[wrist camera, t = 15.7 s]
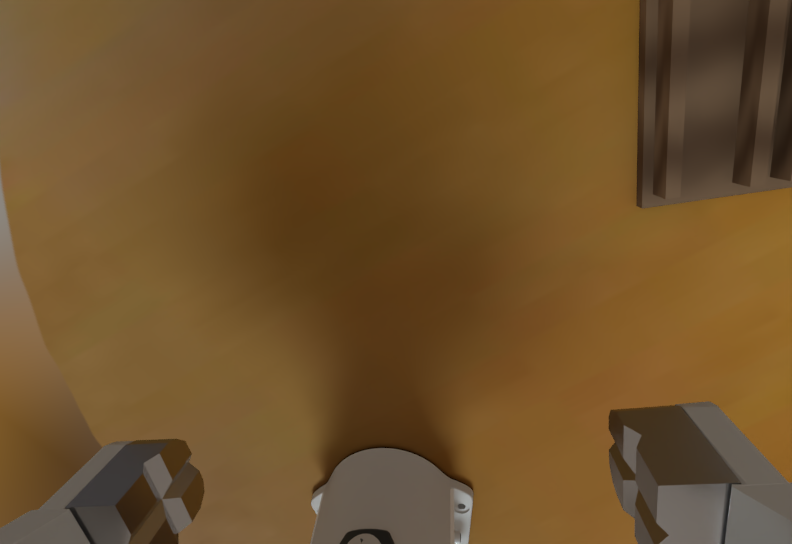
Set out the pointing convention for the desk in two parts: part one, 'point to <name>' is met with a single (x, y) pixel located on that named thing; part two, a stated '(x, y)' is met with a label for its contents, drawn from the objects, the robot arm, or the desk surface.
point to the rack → (713, 99)
